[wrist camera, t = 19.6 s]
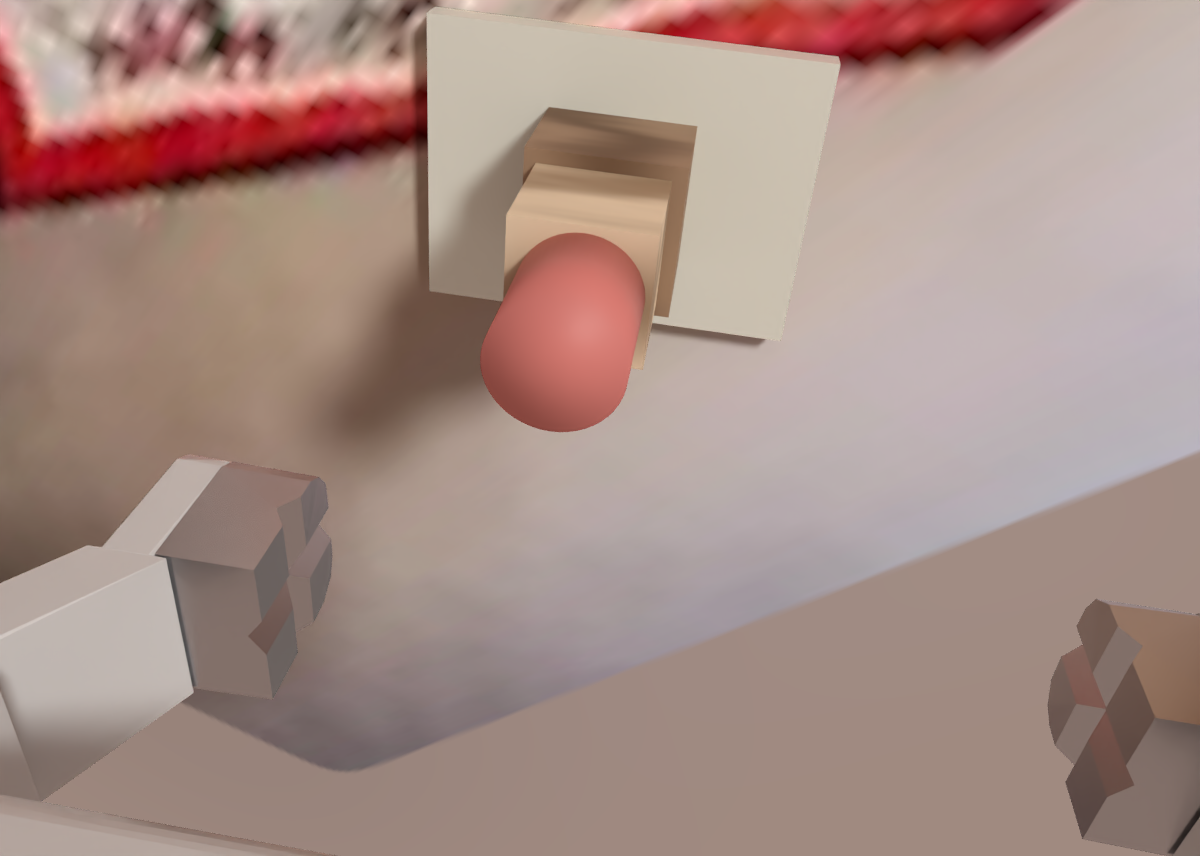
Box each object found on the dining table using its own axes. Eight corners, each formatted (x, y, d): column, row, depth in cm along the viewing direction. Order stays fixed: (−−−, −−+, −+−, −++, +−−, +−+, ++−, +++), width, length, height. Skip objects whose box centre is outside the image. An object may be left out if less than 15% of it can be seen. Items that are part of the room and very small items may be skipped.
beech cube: (535, 162, 37) (506, 214, 32) (672, 181, 36) (660, 236, 32) (529, 287, 39) (501, 349, 35) (655, 304, 39) (642, 370, 35)
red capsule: (512, 342, 35) (478, 420, 31) (517, 224, 33) (481, 292, 28) (637, 360, 35) (620, 441, 31) (652, 242, 32) (635, 313, 28)
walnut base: (540, 245, 44) (517, 296, 40) (548, 106, 40) (524, 146, 36) (677, 264, 43) (668, 317, 39) (697, 126, 40) (689, 168, 36)
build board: (436, 279, 47) (429, 291, 46) (434, 6, 40) (426, 12, 39) (780, 328, 46) (780, 341, 45) (838, 56, 39) (840, 64, 38)
